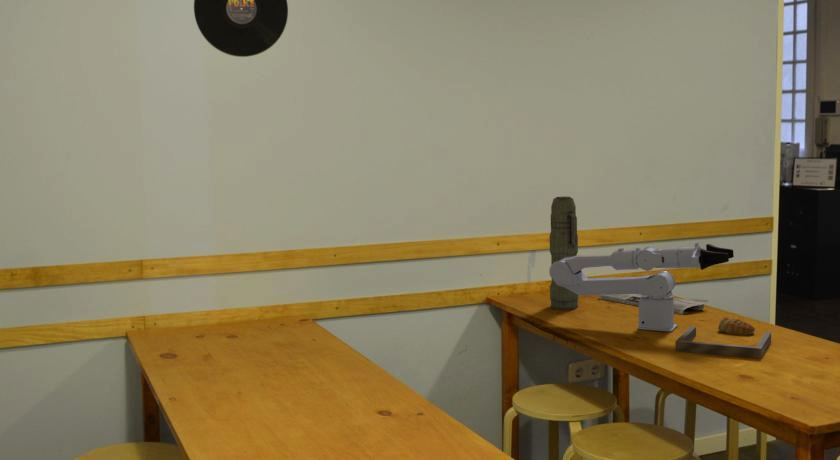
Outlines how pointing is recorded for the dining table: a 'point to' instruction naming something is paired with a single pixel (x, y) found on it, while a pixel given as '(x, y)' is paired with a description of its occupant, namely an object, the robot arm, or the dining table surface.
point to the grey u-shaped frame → (721, 346)
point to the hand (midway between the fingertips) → (730, 255)
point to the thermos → (563, 248)
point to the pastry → (735, 327)
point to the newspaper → (635, 298)
